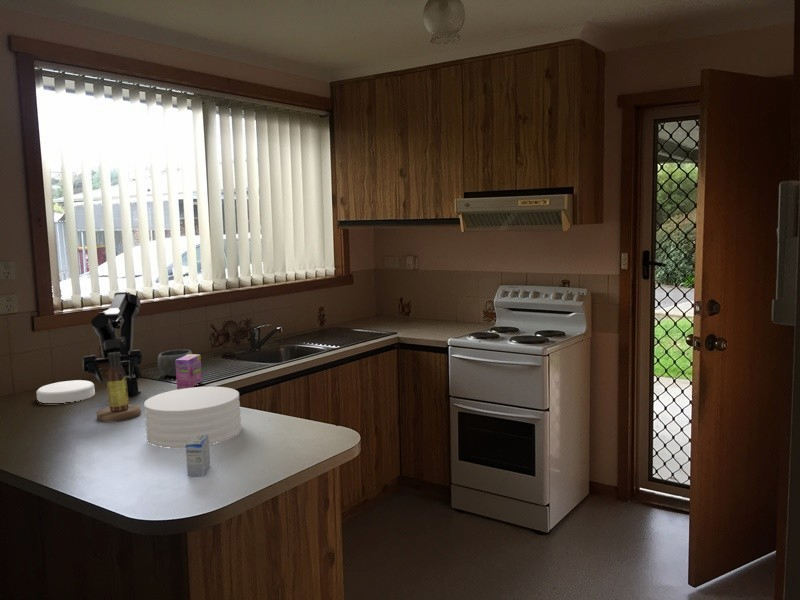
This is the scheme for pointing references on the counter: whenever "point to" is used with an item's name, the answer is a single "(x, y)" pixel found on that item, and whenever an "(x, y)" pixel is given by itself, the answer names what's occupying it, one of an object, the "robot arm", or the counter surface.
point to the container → (65, 391)
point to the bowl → (170, 361)
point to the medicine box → (197, 455)
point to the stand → (119, 413)
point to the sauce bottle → (116, 384)
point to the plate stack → (192, 415)
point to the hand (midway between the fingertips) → (116, 380)
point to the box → (188, 371)
